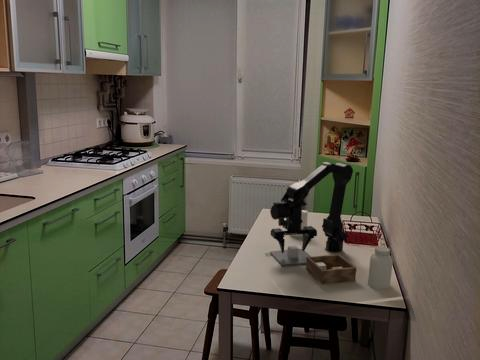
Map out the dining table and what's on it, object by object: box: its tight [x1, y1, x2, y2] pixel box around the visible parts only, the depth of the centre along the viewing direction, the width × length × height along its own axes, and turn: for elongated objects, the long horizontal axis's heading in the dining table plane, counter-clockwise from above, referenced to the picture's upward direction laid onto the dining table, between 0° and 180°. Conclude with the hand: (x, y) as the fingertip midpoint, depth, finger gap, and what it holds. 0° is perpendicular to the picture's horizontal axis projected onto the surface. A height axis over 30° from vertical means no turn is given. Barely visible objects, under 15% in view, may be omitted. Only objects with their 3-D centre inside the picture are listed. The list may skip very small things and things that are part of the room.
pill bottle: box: [367, 245, 394, 290], centre depth 172 cm, size 8×8×15 cm
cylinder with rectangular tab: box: [290, 209, 309, 238], centre depth 229 cm, size 9×9×12 cm
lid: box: [269, 245, 312, 267], centre depth 196 cm, size 15×15×5 cm
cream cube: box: [316, 262, 326, 270], centre depth 183 cm, size 4×4×4 cm
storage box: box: [305, 253, 357, 285], centre depth 181 cm, size 14×14×6 cm
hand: (292, 251), depth 196 cm, fingers open, 9 cm apart
